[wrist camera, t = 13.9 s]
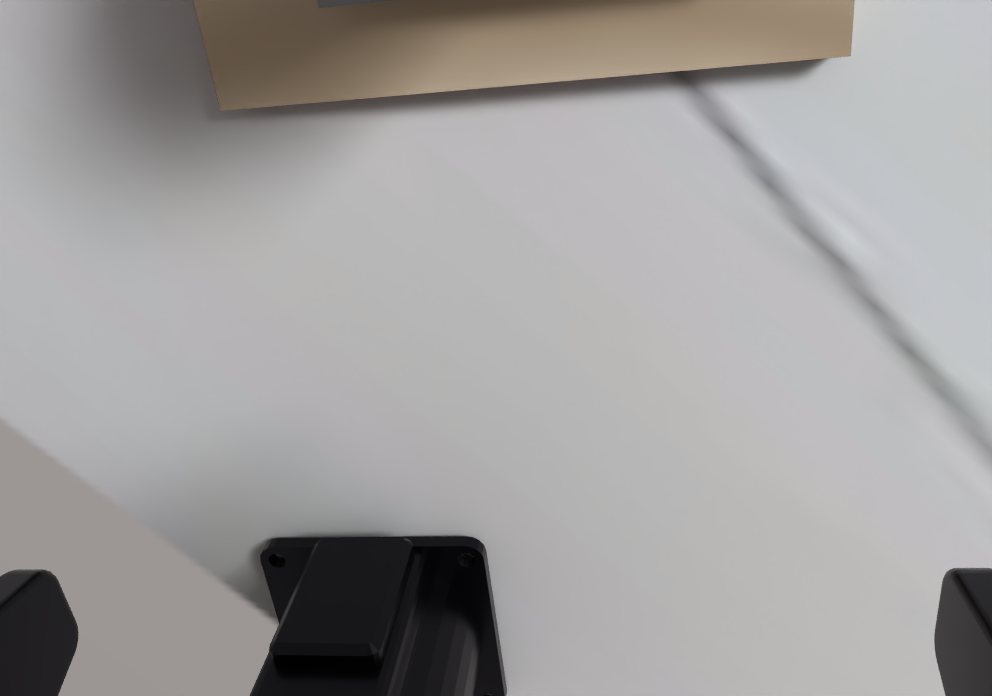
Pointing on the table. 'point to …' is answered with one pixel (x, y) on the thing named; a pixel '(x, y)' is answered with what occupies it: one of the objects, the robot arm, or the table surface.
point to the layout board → (493, 43)
